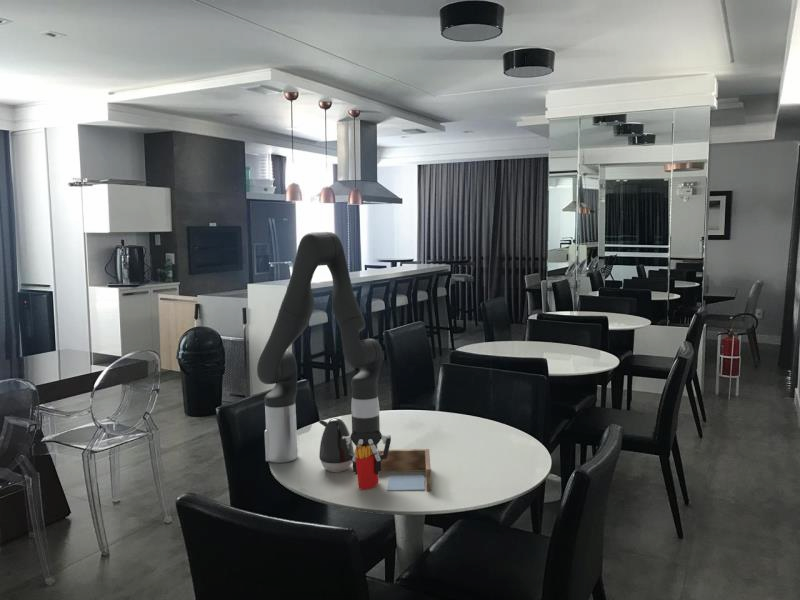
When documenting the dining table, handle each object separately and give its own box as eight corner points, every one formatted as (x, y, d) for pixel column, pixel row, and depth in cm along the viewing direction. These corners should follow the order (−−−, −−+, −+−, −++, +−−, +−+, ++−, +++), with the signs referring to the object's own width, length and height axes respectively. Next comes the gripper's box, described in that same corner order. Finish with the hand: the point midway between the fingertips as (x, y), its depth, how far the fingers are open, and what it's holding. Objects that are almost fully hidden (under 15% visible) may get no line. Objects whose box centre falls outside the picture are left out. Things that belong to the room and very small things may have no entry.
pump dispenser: (329, 461, 201) (327, 412, 199) (360, 464, 197) (358, 415, 195) (312, 473, 191) (310, 422, 189) (345, 477, 187) (343, 425, 186)
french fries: (371, 478, 185) (369, 437, 184) (382, 481, 183) (381, 439, 182) (352, 489, 178) (350, 446, 177) (364, 492, 176) (362, 448, 175)
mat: (387, 491, 177) (387, 489, 177) (388, 476, 187) (388, 475, 187) (424, 490, 177) (424, 489, 176) (424, 476, 186) (424, 475, 186)
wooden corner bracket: (357, 492, 176) (356, 470, 176) (362, 470, 192) (361, 450, 192) (431, 491, 176) (430, 469, 175) (429, 468, 192) (429, 448, 191)
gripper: (337, 417, 175) (339, 479, 177) (391, 416, 175) (393, 478, 177) (340, 409, 182) (342, 468, 184) (392, 408, 182) (393, 468, 184)
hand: (367, 473), depth 181 cm, fingers closed on french fries, 5 cm apart
